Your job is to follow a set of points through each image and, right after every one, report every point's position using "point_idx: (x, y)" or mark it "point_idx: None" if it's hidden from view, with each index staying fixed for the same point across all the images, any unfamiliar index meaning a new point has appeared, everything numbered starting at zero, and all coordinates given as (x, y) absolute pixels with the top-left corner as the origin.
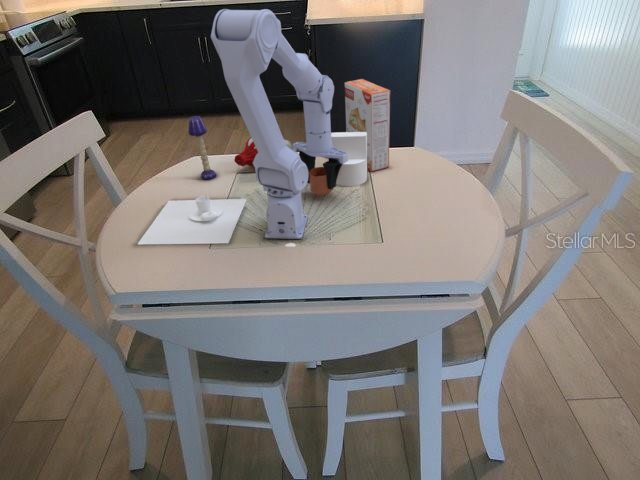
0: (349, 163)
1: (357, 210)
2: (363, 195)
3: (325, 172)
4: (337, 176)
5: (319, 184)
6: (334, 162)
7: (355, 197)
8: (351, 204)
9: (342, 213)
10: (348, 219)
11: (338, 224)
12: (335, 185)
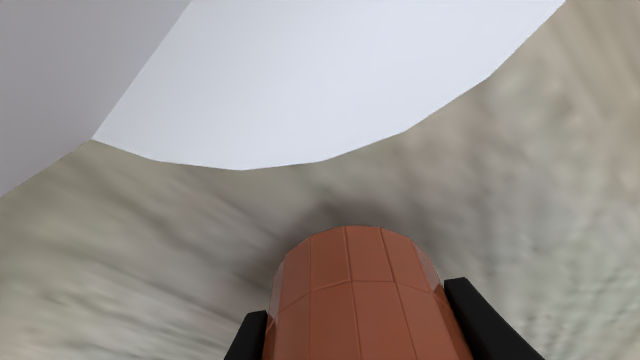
0: (482, 25)
1: (629, 223)
2: (586, 61)
3: (330, 330)
4: (528, 345)
5: None
6: None
7: (541, 126)
8: (562, 202)
9: (561, 283)
10: (617, 295)
11: (590, 336)
12: (470, 284)
